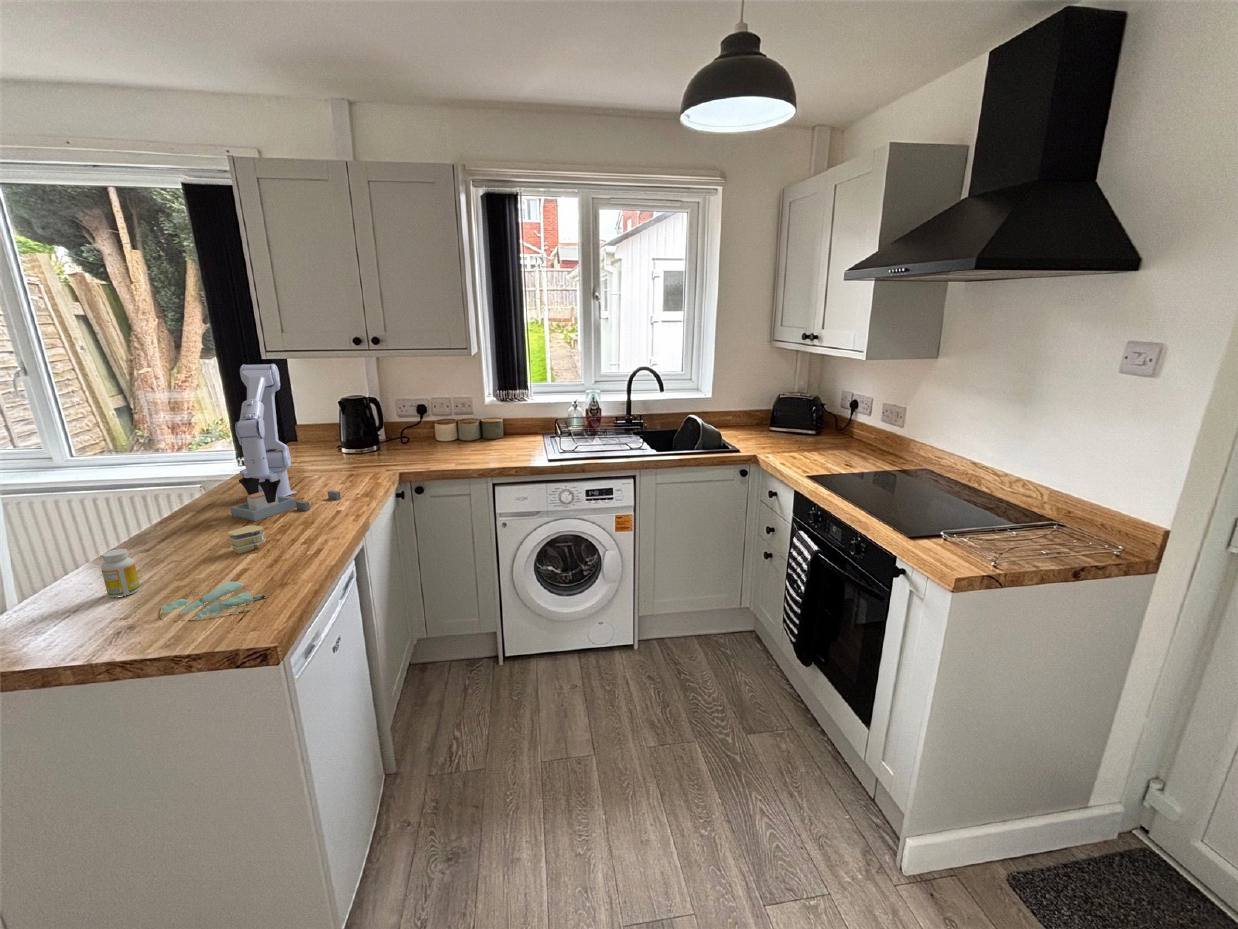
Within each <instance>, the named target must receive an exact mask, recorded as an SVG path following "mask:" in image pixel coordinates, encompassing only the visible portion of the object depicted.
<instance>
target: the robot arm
mask: <svg viewBox="0 0 1238 929" xmlns="http://www.w3.org/2000/svg"><path fill="white" fill-rule="evenodd" d="M239 375H240V379H241V382H242V383H243V385H244V386H245V387H246V400H244V401H243V402H242V403H241V410H240V416H239V417H240V418H239V419H238V421H236V422H235V426H234V427H235V435H236V437H237V440H238V443H239V445H240V446H241V448H242V449H241V450H242V455H243V459H244V467H245V469H241V470H239V475H240V477H241V478H240V479H238V483H239V484H241V485H242V487H243V488H244V490H245V491H246V492H247V494H248V495H252V494H255V493H259V492H262V491H263V492H264V494H265V498H266V501H267V503H273V502H275V500H276V492H277V495H279V496H285V497H289V496H292V495H295V494H297V493H298V492H297V491H296V490H291V487H290V486H291V485H290V480H289V475H288V469H289V468H290V467H291V465H292V458H291V453H290V448H289V446H288V445H287V444H285V443H283V442H282V441H280V440H279V433H278V424H277V413H276V402H275V401H276V400H275V396H276V392H277V391H279V390H280V389H281V380H280V372H279V369H278V366H277V365H276V364H275V363H270V364H242V365H241V366H240V368H239ZM248 495H247V496H248Z"/></svg>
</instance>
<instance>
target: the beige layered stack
mask: <svg viewBox="0 0 1238 929" xmlns="http://www.w3.org/2000/svg"><path fill="white" fill-rule="evenodd" d="M263 528H264V526H261V525H246V526H242V527H239V528H237V529H234V530H231V531H228V532H227V534H230V535H231V536H230V535H229V536H228V539H230V542H231V544H229V546H230V547H232V551H233V552H235V553H237V554H238V555H239V554H243V553H246V552H249V551H252V550H255V546H258V545H260V544H262V543H265V541H266V540H267V538H265V537H264V534H265V530H262V529H263Z"/></svg>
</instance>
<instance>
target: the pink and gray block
mask: <svg viewBox="0 0 1238 929" xmlns="http://www.w3.org/2000/svg"><path fill="white" fill-rule="evenodd" d="M246 498H247V502H248V505H249V510H253V511H255V510H258V509H261V508H264V507H267V506H271V505H274V504H277V503H279V502H278V497H277V492H276V500H275V502H273V503H267V501H266V498H265V494H264V492H263V491H262V492H259V493H255V494H252V495H247V496H246Z"/></svg>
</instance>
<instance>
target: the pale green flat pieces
mask: <svg viewBox="0 0 1238 929" xmlns="http://www.w3.org/2000/svg"><path fill="white" fill-rule="evenodd" d="M243 585H245V584H244V583H241V582H239V581H230V580H227V581H226V582H224V583H222V584H221V585H219V586H218V587H216V588H214V589H213V590H212V591H210V592H208V593H206V594H204V595H203V596H201V598H200V599H196V600H194V601H195V602H193V603H192V604H190V605H186V604H187V603H188V602H189V600H185V599H183V598H180V599H175V600H174V601H172V602H170V603H168V604H164V605H163V606H164V607H162V606H161V607H162V609H163V611H162V612H161V613H168V612H170V611H172V610H175V609H178V608H180V607H182V606H187V607H185V608H184V609H182V610H181V611H180V612H179V613H181V614H182V613H186V612H189V611H192V610H193V609H197V608H198V607H200V606H206V605H204V603H206V602H211V601H214V600H215V599H218V598H220V597H222V596H224V597H226V596H228V595H231V594H233V593H232V592H234V593H235V592H237V591H239V590H240V588H241V587H242V588H244V587H243ZM242 588H241V589H242ZM238 589H239V590H238ZM236 590H237V591H236ZM230 593H231V594H230ZM227 594H228V595H227ZM250 594H251V592H250V590H247V591H244V592H241V593H238V594H237V595H234V596H232V597H228V598H226V599H223V600H221V601H218V602H216V601H214V602H211V603H209V604H208V605H207V606H206V608H205V609H203V610H202V611H200V612H198V613H196V615H194V616H197V617H194V618H191V619H195V618H198V619H200V618H202V617H207V616H218V615H224V614H214V615H213V614H212V615H209V613H218V612H219V611H224V610H225V609H233V608H236V607H232V606H239V605H241V604H245V603H248V602H255V601H254V600H253V599H260V598H264V597H267V596H266V595H265V594H262V593H260V594H257V595H256V594H255V597H253V598H252V597H251V596H250ZM252 595H253V596H254V594H252ZM222 598H223V597H222ZM220 599H221V598H220ZM218 600H219V599H218ZM260 600H261V599H260ZM245 609H253V608H245ZM241 610H243V609H241ZM233 612H234V613H236V612H240V610H238V611H233ZM233 612H228V613H233Z"/></svg>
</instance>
